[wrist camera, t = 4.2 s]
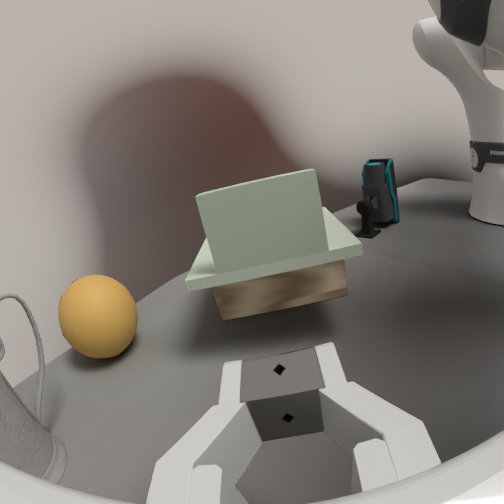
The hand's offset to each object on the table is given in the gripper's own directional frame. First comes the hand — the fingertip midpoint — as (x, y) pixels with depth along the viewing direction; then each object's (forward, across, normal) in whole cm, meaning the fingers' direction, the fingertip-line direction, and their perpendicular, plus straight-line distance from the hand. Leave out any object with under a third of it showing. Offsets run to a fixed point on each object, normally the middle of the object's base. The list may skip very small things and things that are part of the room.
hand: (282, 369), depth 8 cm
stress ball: (+20, +21, +13) cm, 32 cm away
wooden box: (+30, 0, +13) cm, 33 cm away
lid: (+23, 0, +4) cm, 23 cm away
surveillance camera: (+44, -19, +13) cm, 50 cm away
